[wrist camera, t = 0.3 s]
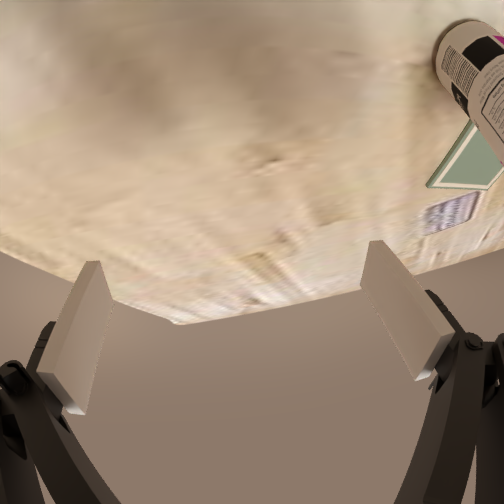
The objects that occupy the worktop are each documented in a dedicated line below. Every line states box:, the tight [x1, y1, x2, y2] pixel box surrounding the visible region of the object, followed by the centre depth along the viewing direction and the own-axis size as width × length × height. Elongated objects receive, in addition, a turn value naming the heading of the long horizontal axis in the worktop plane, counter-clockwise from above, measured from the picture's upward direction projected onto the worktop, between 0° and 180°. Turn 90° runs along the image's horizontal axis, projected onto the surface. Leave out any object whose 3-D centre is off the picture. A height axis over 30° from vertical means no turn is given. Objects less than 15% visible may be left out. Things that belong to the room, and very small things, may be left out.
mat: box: [426, 119, 504, 190], centre depth 29 cm, size 14×14×1 cm
